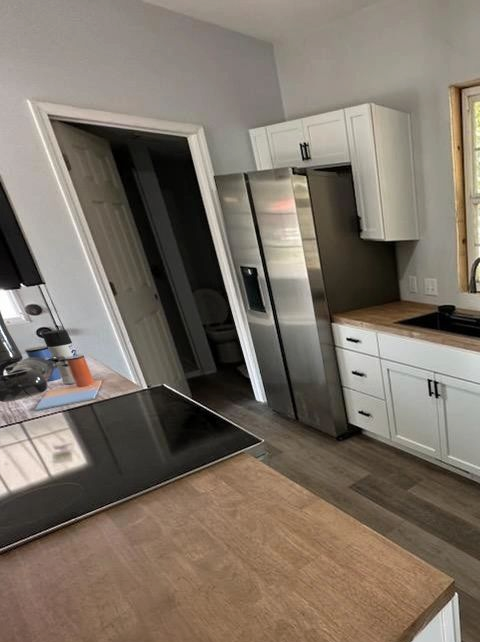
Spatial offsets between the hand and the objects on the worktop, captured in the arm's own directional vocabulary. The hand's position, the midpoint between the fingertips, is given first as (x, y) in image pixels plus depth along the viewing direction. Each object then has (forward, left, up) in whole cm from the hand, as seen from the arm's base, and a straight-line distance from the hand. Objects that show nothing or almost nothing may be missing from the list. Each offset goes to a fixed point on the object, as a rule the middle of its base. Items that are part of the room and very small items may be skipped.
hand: (44, 360), depth 137 cm
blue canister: (0, -3, -6) cm, 7 cm away
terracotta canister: (+5, +12, -13) cm, 19 cm away
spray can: (+1, +23, -14) cm, 27 cm away
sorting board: (+2, +3, -14) cm, 15 cm away
